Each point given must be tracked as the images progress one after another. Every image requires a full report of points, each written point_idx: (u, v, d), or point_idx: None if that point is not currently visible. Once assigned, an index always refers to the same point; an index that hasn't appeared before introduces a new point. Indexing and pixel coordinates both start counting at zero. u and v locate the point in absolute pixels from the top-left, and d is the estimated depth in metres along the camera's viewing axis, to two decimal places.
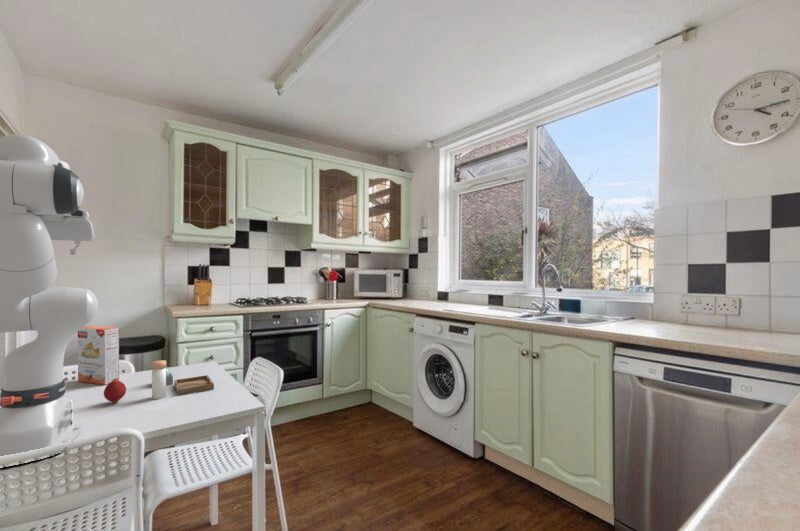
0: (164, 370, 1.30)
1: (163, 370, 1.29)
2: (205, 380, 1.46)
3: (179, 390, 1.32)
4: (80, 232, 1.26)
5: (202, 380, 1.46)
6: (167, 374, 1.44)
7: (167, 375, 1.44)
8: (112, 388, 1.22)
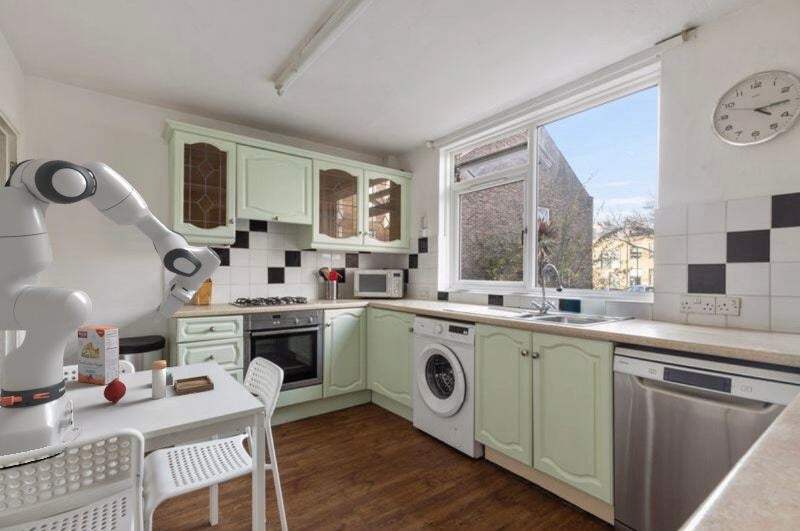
0: (164, 370, 1.30)
1: (163, 370, 1.29)
2: (205, 380, 1.46)
3: (179, 390, 1.32)
4: (163, 304, 1.28)
5: (202, 380, 1.46)
6: (167, 374, 1.44)
7: (167, 375, 1.44)
8: (112, 388, 1.22)
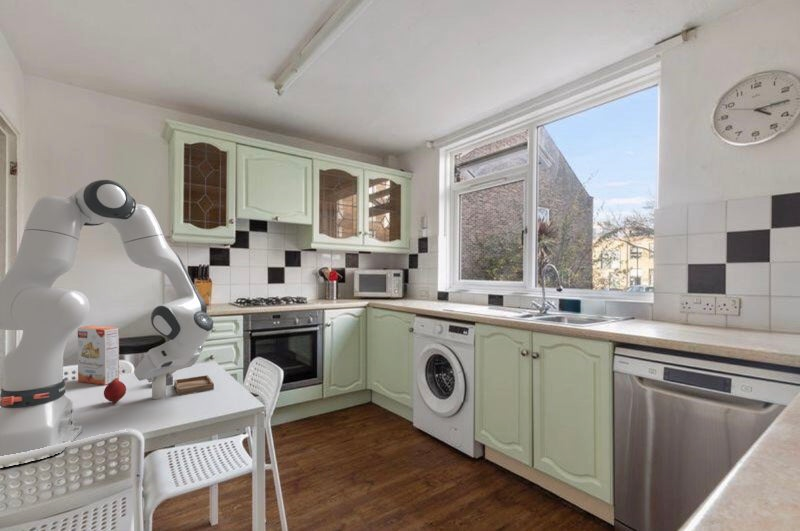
0: None
1: None
2: (205, 380, 1.46)
3: (179, 390, 1.32)
4: None
5: (202, 380, 1.46)
6: None
7: None
8: (112, 388, 1.22)
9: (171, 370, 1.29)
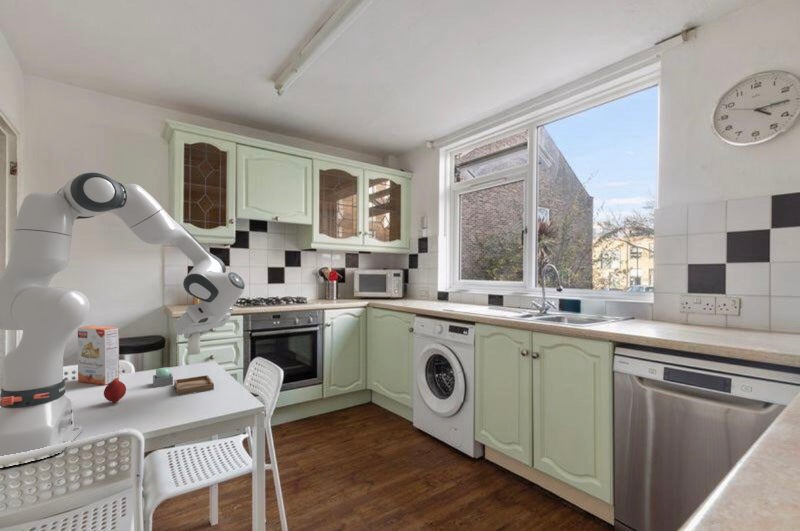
0: None
1: None
2: (205, 380, 1.46)
3: (179, 390, 1.32)
4: None
5: (202, 380, 1.46)
6: (167, 374, 1.44)
7: (167, 375, 1.44)
8: (112, 388, 1.22)
9: (205, 328, 1.39)
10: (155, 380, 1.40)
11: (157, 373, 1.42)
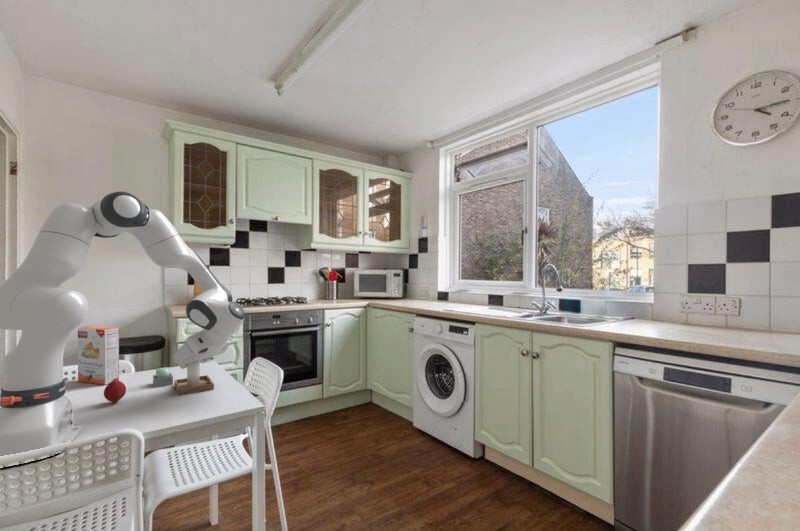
0: (198, 360, 1.40)
1: None
2: (205, 380, 1.46)
3: (179, 390, 1.32)
4: None
5: (202, 380, 1.46)
6: (167, 374, 1.44)
7: (167, 375, 1.44)
8: (112, 388, 1.22)
9: (205, 357, 1.39)
10: (155, 380, 1.40)
11: (157, 373, 1.42)
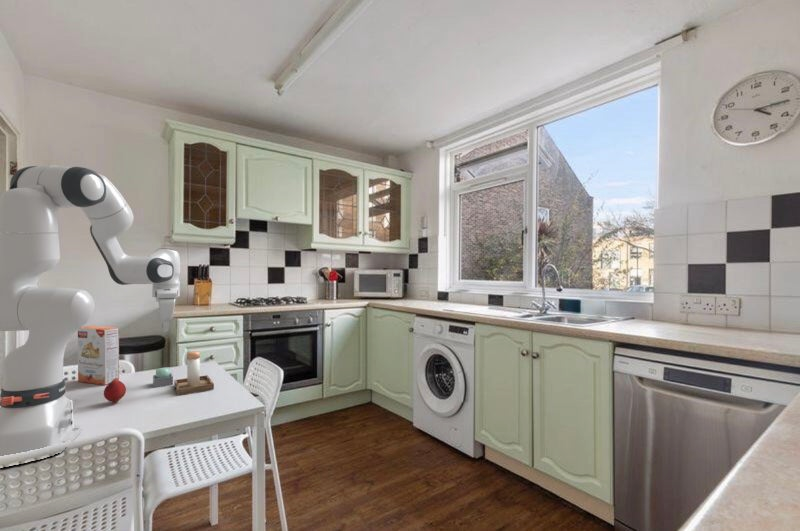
0: (198, 360, 1.40)
1: (197, 360, 1.40)
2: (205, 380, 1.46)
3: (179, 390, 1.32)
4: None
5: (202, 380, 1.46)
6: (167, 374, 1.44)
7: (167, 375, 1.44)
8: (112, 388, 1.22)
9: None
10: (155, 380, 1.40)
11: (157, 373, 1.42)
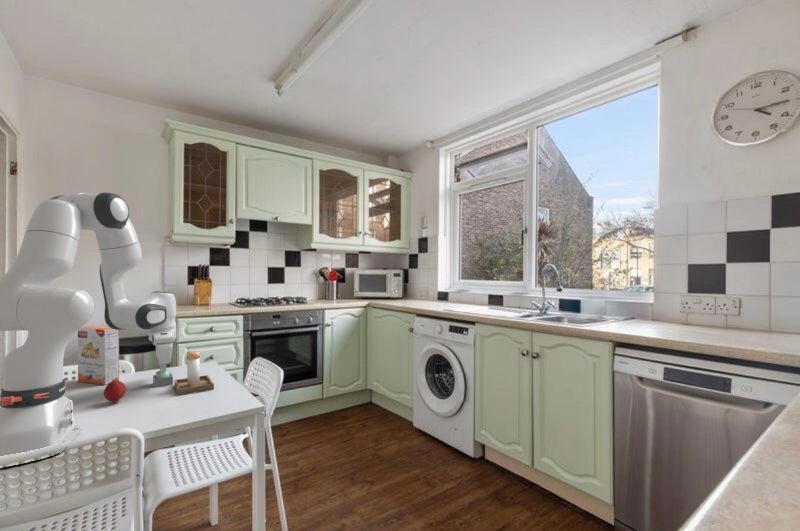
0: (198, 360, 1.40)
1: (197, 360, 1.40)
2: (205, 380, 1.46)
3: (179, 390, 1.32)
4: None
5: (202, 380, 1.46)
6: (167, 376, 1.44)
7: None
8: (112, 388, 1.22)
9: None
10: (155, 380, 1.40)
11: (157, 376, 1.42)
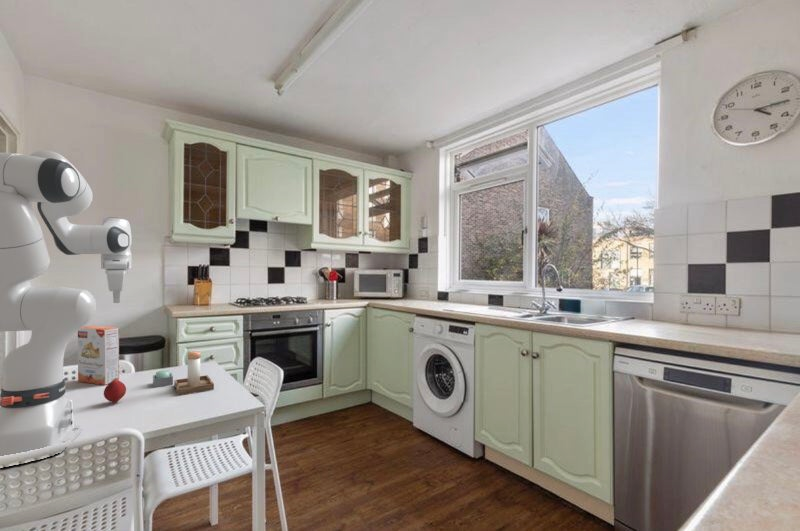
0: (199, 360, 1.40)
1: (198, 360, 1.40)
2: (205, 380, 1.46)
3: (179, 390, 1.32)
4: None
5: (202, 380, 1.46)
6: None
7: None
8: (112, 388, 1.22)
9: None
10: (155, 380, 1.40)
11: (157, 376, 1.42)
